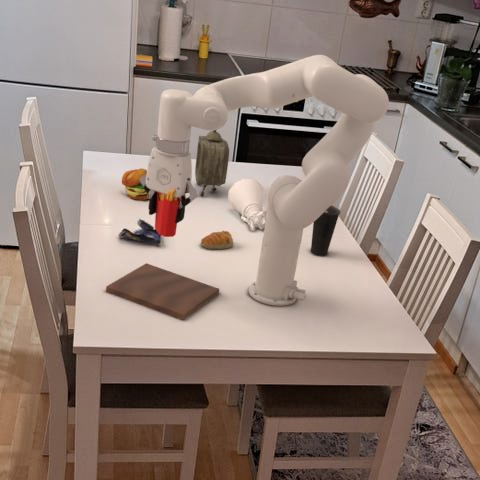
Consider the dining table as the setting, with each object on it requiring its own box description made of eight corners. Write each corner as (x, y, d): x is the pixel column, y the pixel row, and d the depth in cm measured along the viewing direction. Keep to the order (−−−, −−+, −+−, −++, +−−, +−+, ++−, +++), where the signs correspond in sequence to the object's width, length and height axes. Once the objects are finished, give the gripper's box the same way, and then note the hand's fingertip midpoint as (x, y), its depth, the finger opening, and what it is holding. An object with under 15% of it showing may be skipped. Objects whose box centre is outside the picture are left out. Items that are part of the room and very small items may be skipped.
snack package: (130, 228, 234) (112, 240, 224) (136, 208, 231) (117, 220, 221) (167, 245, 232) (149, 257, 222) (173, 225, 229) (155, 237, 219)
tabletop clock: (193, 183, 276) (201, 111, 265) (219, 185, 278) (228, 113, 267) (196, 198, 264) (205, 123, 252) (223, 200, 265) (233, 125, 254)
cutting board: (218, 294, 204) (219, 288, 204) (183, 320, 189) (183, 314, 189) (145, 268, 212) (146, 263, 211) (105, 291, 197) (106, 286, 196)
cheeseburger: (156, 203, 254) (151, 173, 250) (123, 206, 255) (117, 176, 250) (159, 191, 263) (154, 162, 259) (127, 195, 264) (121, 166, 259)
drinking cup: (336, 254, 237) (350, 190, 228) (321, 260, 232) (334, 194, 223) (316, 245, 242) (328, 182, 232) (300, 250, 236) (312, 186, 227)
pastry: (209, 252, 226) (210, 240, 224) (194, 243, 231) (196, 231, 229) (234, 247, 232) (236, 235, 230) (220, 238, 236) (222, 226, 235)
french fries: (151, 224, 198) (156, 173, 192) (168, 223, 199) (173, 174, 194) (162, 239, 190) (167, 187, 185) (179, 239, 192) (185, 187, 186)
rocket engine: (266, 204, 239) (252, 172, 252) (233, 224, 241) (221, 191, 254) (284, 229, 246) (269, 196, 259) (252, 248, 249) (238, 215, 261)
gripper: (132, 138, 185) (126, 211, 193) (197, 157, 179) (188, 232, 187) (150, 133, 191) (144, 203, 199) (213, 151, 185) (204, 223, 193)
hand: (165, 216), depth 193 cm, fingers closed on french fries, 6 cm apart
